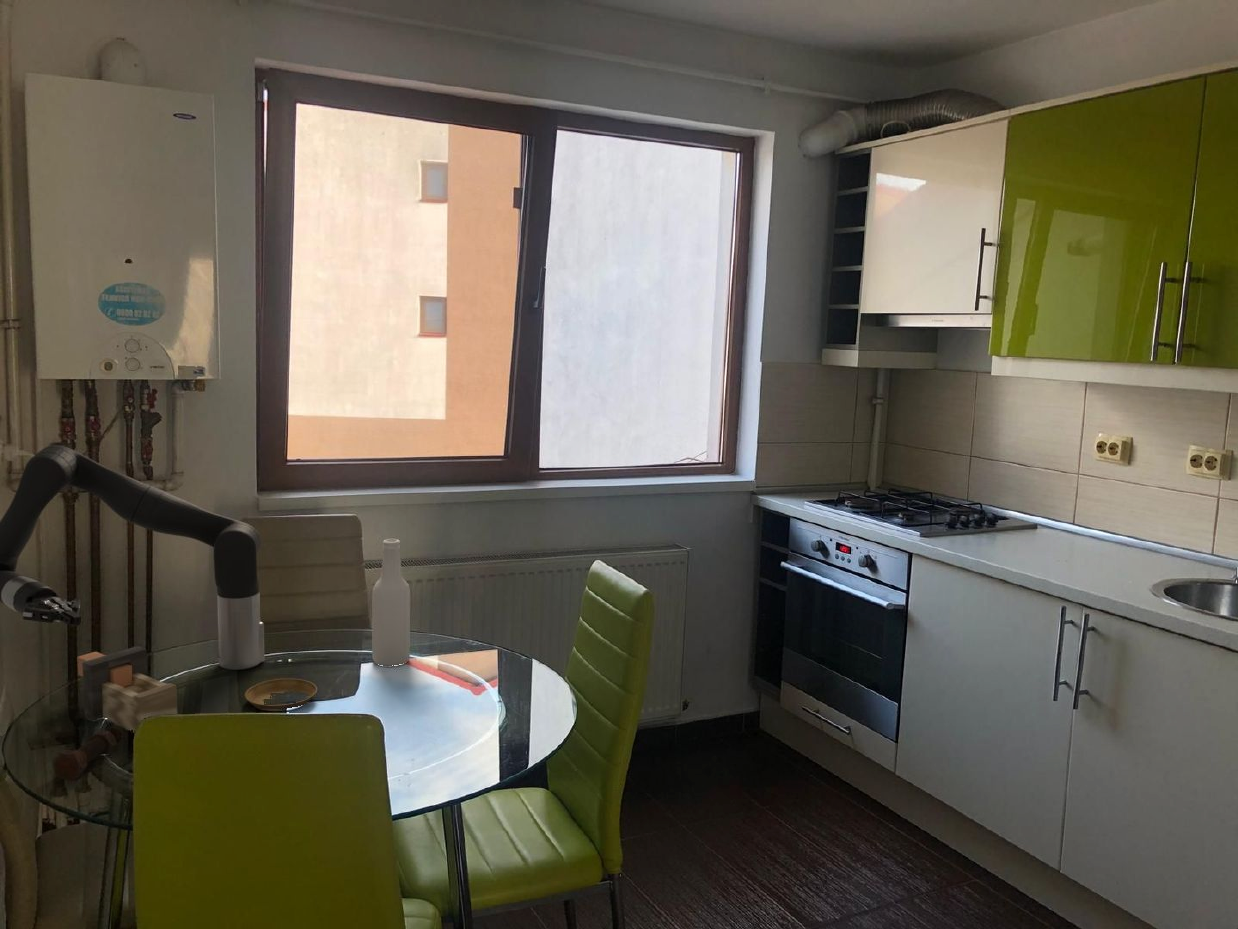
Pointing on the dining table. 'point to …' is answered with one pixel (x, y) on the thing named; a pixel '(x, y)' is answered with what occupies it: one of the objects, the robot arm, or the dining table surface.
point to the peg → (116, 674)
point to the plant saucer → (279, 686)
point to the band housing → (125, 690)
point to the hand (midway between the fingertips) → (77, 621)
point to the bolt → (85, 754)
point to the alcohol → (391, 610)
